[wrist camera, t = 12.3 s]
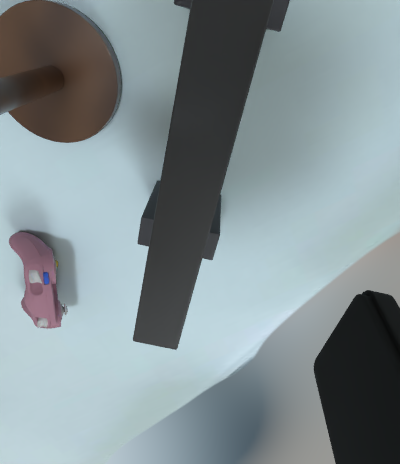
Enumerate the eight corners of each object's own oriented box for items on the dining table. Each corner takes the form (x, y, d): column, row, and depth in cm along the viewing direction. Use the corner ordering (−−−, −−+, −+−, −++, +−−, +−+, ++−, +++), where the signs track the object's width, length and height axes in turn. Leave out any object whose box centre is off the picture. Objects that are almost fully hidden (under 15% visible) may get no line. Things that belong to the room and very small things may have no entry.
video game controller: (64, 294, 42) (71, 338, 37) (22, 301, 40) (22, 348, 35) (57, 223, 37) (63, 263, 31) (8, 228, 35) (5, 270, 30)
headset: (278, -12, 24) (358, -61, 10) (214, 217, 34) (206, 365, 19) (193, -35, 24) (143, -121, 9) (153, 203, 33) (97, 344, 19)
